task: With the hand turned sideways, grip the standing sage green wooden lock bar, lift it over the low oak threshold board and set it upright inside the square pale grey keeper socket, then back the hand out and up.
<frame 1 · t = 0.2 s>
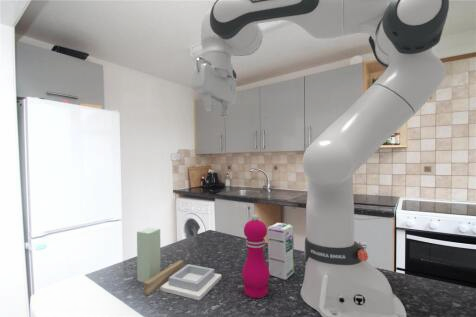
hand: (216, 114, 72), 48 cm above the countertop, tool pointing down, fingers open, 8 cm apart
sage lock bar: (149, 278, 70), on the countertop
pepper mill: (256, 292, 63), on the countertop
oak threshold board: (165, 281, 69), on the countertop
grey keeper socket: (192, 284, 67), on the countertop
syrup box: (281, 274, 72), on the countertop
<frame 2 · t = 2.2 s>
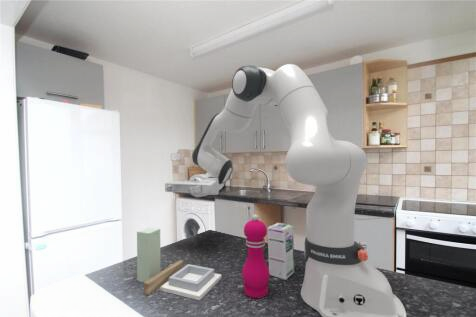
hand: (178, 189, 83), 24 cm above the countertop, tool horizontal, fingers open, 8 cm apart
nothing on the countertop moved.
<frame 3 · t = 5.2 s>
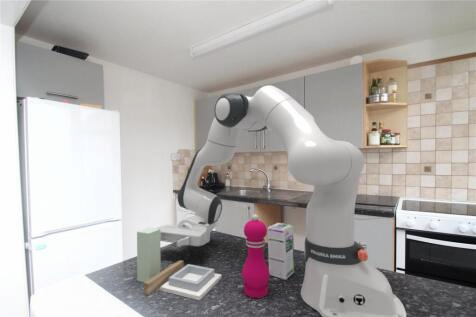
hand: (164, 242, 76), 8 cm above the countertop, tool horizontal, fingers open, 8 cm apart
nothing on the countertop moved.
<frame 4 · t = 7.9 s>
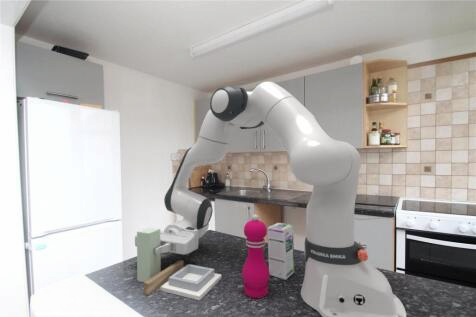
hand: (146, 250, 70), 9 cm above the countertop, tool horizontal, fingers closed on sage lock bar, 4 cm apart
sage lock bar: (149, 278, 70), on the countertop, touching gripper
everything else where it was.
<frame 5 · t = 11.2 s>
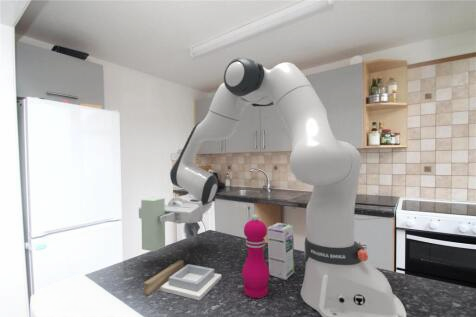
hand: (151, 218, 69), 18 cm above the countertop, tool horizontal, fingers closed on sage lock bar, 4 cm apart
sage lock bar: (153, 247, 70), point 9 cm above the countertop, touching gripper
everything else where it was.
when the fingers open (11 cm above the countertop, at t = 14.7 s): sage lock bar drops 1 cm, resting on grey keeper socket.
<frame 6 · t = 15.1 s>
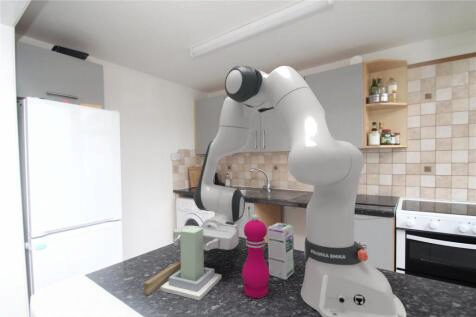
hand: (190, 245, 66), 11 cm above the countertop, tool horizontal, fingers open, 8 cm apart
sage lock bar: (192, 280, 67), point 1 cm above the countertop, touching grey keeper socket
everything else where it was.
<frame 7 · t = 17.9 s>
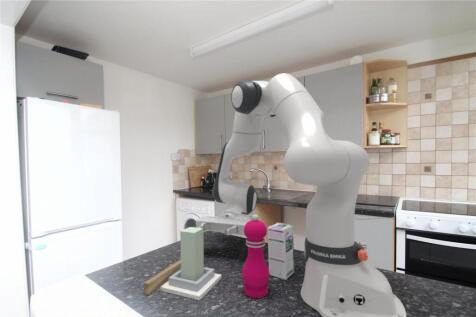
hand: (213, 231, 78), 11 cm above the countertop, tool horizontal, fingers open, 8 cm apart
nothing on the countertop moved.
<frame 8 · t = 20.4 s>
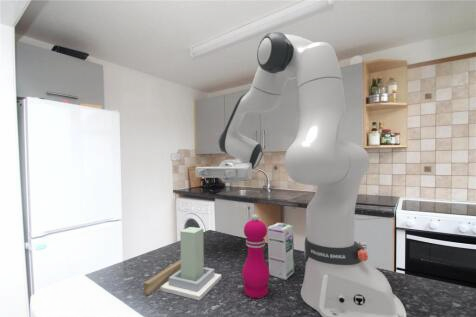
hand: (212, 173, 78), 30 cm above the countertop, tool horizontal, fingers open, 8 cm apart
nothing on the countertop moved.
at the end: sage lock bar 0.0 cm off-centre on the grey keeper socket, point 1.0 cm above the grey keeper socket's base; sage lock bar tilted 0°; the gripper is holding nothing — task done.
